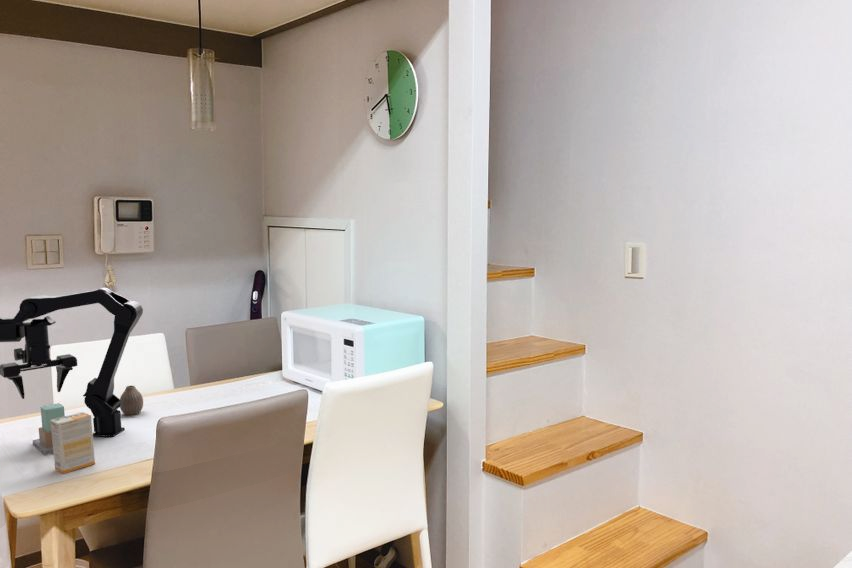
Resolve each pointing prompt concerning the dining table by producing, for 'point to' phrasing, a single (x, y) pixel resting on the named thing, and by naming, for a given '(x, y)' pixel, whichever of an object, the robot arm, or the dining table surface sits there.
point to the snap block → (51, 414)
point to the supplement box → (72, 442)
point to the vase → (131, 401)
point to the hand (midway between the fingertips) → (41, 395)
